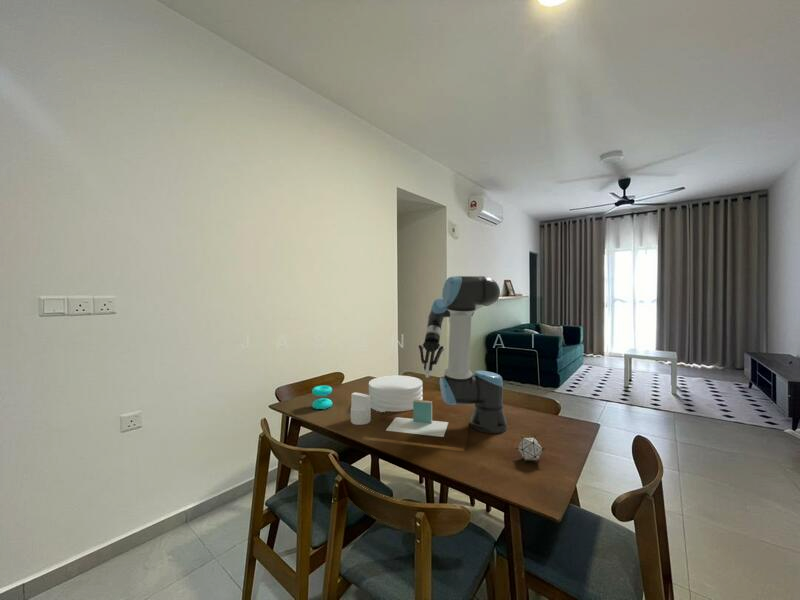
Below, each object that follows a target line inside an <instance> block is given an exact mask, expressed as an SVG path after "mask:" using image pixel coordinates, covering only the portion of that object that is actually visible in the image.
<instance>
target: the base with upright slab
mask: <svg viewBox="0 0 800 600" xmlns="http://www.w3.org/2000/svg"><path fill="white" fill-rule="evenodd" d="M350 395H351V403H350V404H351V407H350V423H352V424H353V425H356V426H357V425H358V426H361V425H367V424H369V423H371V421H372V419H371V418H372V417H371V415H372V414H371V413H372V411H371V410H372V409H371V407H370V395H369V394H365V393H361V392H353V393H351V394H350Z"/></svg>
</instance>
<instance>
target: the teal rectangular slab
mask: <svg viewBox="0 0 800 600" xmlns="http://www.w3.org/2000/svg"><path fill="white" fill-rule="evenodd" d="M412 410H413V412H412V413H413V414H412V415H413V416H412V417H413V418H412V419H413V422H421V423H432V421H433V401H432V400H424V399H423V400H414V401H413V409H412Z"/></svg>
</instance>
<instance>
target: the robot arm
mask: <svg viewBox="0 0 800 600" xmlns="http://www.w3.org/2000/svg"><path fill="white" fill-rule="evenodd" d="M441 293H442V295H441V298H436V299H435V300H434V301H433V303H432V305H431V309H430V312H429V315H428V317H427V327H426V331H425V337H424V342H423V344H422V345H421V344H419V345H418V350H419V352H420V361H421V364H422V365H423V370H424V375H425V378H430V371H432V370H433V366H434V365H437V363H438V362H439V360H440V357H441V355H442V353H443V351H445V350H444V346H443V345H441V344H440V341H441V334H442V332H441V331H442V324H443V322H444V318H449V338H448V340H449V341H448V342H449V343H448V364H447V365H448V366H447V369H445V370H444V376H443V375H442V376H441V377H440V378H439V388H440V393H441V397H442V399H443V401H444V403H445V404H447V405H449V406H452V405H453V406H457V405H459V406H460V405H469V404H470V405H473V404H474V410H473V412H472V415H471V418H470V426H471V428H472V429H474V430H476V431H477V432H481V433H486V434H500V433H503V432H506V431H507V430H508V421H507V418H506V415H505V411H504V409H503V408H504V403H503V402H504V400H503V399H504V398H503V397H504V383H503V382H504V381H503V377H502V376H501V375H500V374H498V373H495V372H492V371H487V370H475V371H474V373H473V372H472V371H471V370H470V358H471V357H470V356H471V335H472V334H471V333H472V317H473V316H474V314H475V311H477V310H479V309H481V308H483V307H489V306H491V305H493V304H495V303H496V302H497V301H498V300H499V298H500V295H501V290H500V286H499V284H498V283H497V282H496V281H495V280H494V279H493V278H491V277H489V276H484V275H483V276H481V275H479V276H475V275H473V276H472V275H471V276H469V275H468V276H467V275H466V276H465V275H464V276H462V275H458V276H457V275H456V276H449V277H448V278H447V279H446V280H445V281H444V284H443V288H442V292H441ZM424 349H425V351H426V352H425V356H424ZM436 351H437V352H436ZM435 352H436V355H435ZM429 357H430V360H429ZM473 374H474V375H473Z"/></svg>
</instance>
